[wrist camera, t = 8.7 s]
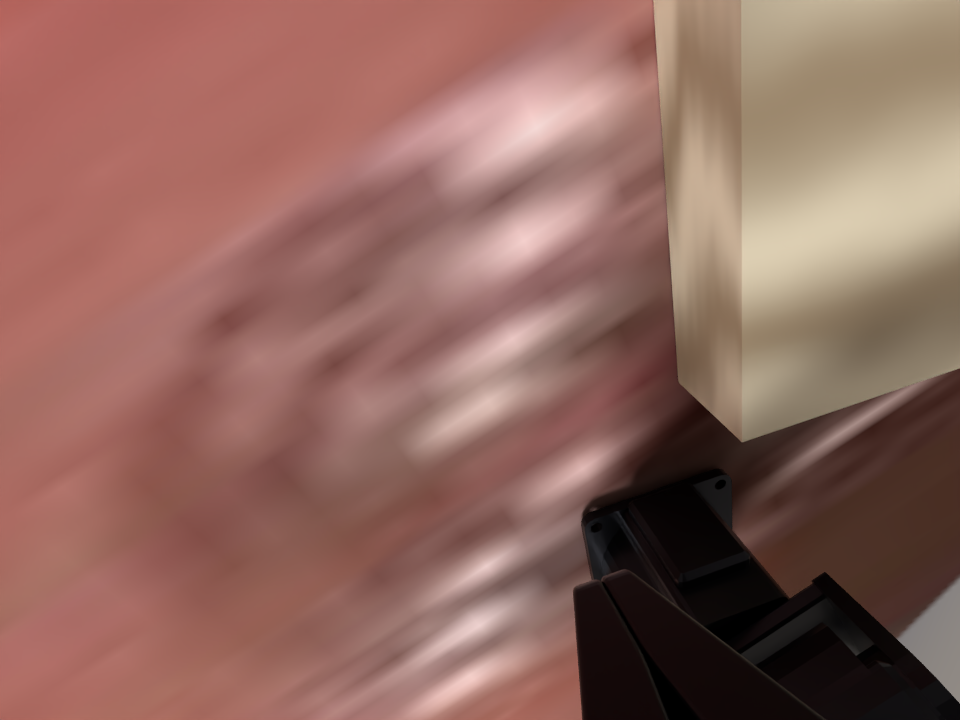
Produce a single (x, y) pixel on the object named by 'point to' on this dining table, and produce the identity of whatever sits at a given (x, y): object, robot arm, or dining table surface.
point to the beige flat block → (810, 200)
